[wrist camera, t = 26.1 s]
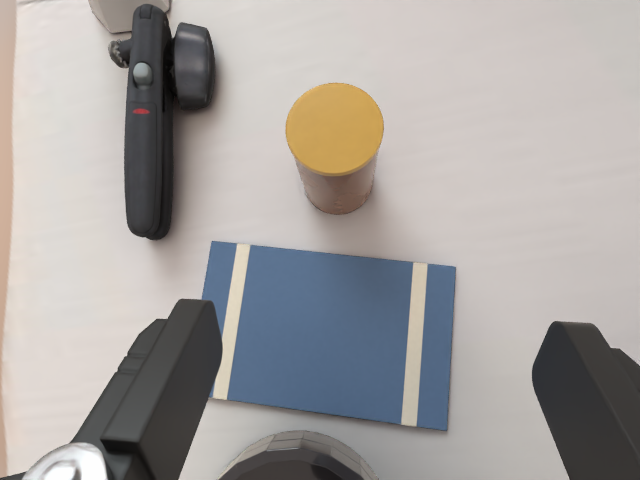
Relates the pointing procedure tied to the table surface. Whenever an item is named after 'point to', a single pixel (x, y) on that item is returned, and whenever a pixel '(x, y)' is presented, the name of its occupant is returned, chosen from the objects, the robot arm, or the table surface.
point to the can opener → (158, 109)
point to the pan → (298, 459)
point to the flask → (121, 12)
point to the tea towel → (333, 333)
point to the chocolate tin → (335, 145)
